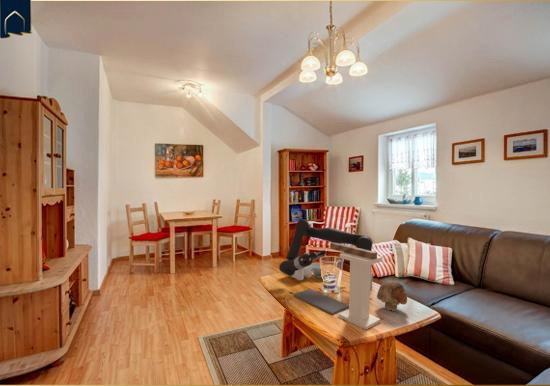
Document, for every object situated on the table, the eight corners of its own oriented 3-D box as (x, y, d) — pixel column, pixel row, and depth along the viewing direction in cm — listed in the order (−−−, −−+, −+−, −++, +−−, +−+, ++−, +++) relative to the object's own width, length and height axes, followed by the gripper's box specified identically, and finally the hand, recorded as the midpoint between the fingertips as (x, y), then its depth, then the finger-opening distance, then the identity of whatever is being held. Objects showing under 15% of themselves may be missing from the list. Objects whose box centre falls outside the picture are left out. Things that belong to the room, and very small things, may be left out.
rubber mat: (293, 295, 167) (293, 294, 167) (309, 290, 176) (309, 288, 176) (332, 314, 143) (332, 312, 143) (349, 307, 152) (349, 305, 152)
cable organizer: (312, 279, 196) (312, 262, 195) (301, 282, 190) (301, 265, 189) (298, 273, 208) (298, 257, 207) (287, 276, 202) (287, 260, 201)
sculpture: (399, 319, 140) (400, 289, 139) (370, 308, 152) (371, 280, 151) (413, 310, 149) (414, 282, 149) (385, 300, 161) (386, 275, 161)
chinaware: (305, 275, 202) (305, 265, 202) (317, 271, 213) (318, 261, 213) (322, 281, 192) (322, 270, 191) (334, 276, 202) (335, 265, 202)
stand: (338, 316, 142) (339, 253, 140) (352, 310, 149) (354, 250, 148) (366, 329, 129) (367, 261, 128) (380, 322, 137) (382, 257, 135)
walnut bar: (330, 248, 151) (330, 243, 151) (333, 247, 153) (333, 242, 153) (373, 259, 131) (373, 253, 130) (377, 258, 132) (377, 252, 132)
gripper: (292, 257, 167) (309, 248, 156) (309, 253, 176) (326, 244, 164) (296, 269, 164) (313, 261, 153) (313, 265, 173) (331, 257, 162)
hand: (320, 252), depth 159 cm, fingers open, 8 cm apart
